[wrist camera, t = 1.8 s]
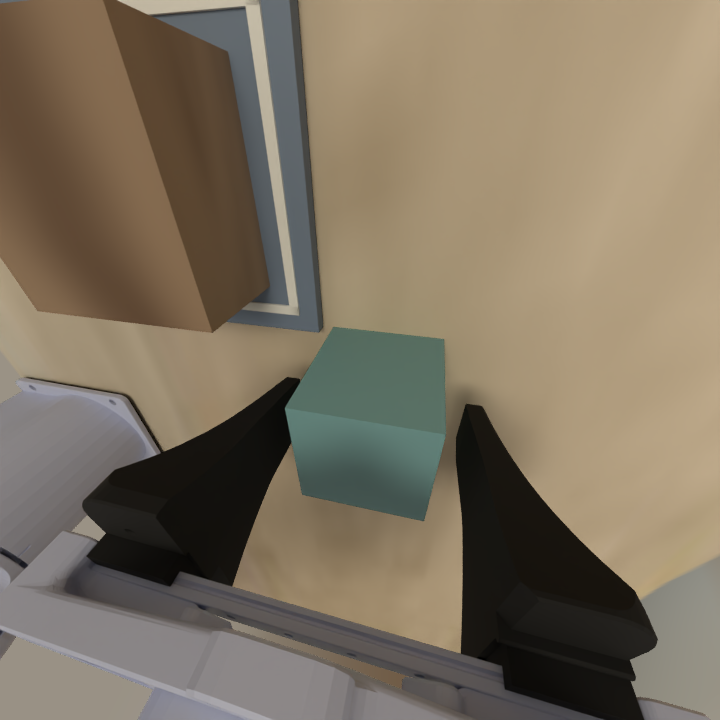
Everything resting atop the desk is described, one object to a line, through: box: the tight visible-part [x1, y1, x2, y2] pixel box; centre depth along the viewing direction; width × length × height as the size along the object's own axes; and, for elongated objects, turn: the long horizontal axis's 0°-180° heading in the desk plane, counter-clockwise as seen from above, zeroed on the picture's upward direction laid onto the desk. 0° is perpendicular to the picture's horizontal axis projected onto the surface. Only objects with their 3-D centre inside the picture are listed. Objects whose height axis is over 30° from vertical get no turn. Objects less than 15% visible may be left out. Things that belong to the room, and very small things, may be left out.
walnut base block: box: [0, 0, 270, 333], centre depth 10 cm, size 7×7×4 cm
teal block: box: [285, 327, 446, 521], centre depth 13 cm, size 5×5×6 cm
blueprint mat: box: [0, 0, 323, 332], centre depth 11 cm, size 11×11×1 cm
